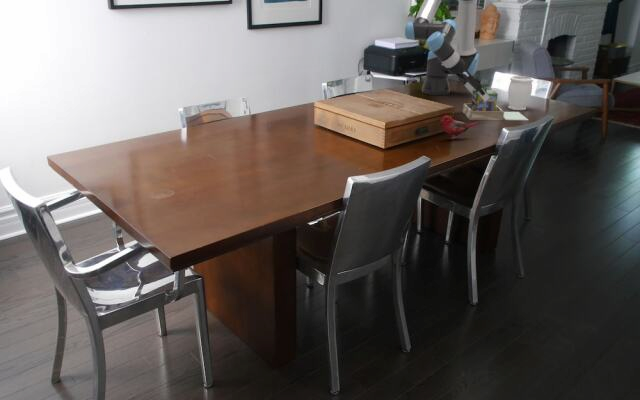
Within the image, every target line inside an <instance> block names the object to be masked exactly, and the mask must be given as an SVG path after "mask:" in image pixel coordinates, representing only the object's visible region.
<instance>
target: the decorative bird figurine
mask: <svg viewBox="0 0 640 400" xmlns="http://www.w3.org/2000/svg"><path fill="white" fill-rule="evenodd" d="M440 122H441V124H442V126H443V129H444V131H445V133H446V134H448V135H450V136H453V137H448V138H447V140H448V139H449V140H454V139H459V138H460V137H459V135H461V134H463V133H465V132H466V131H467V130H469V129H470V128H471V127H473V126H476V125H478V124H480V122H479V121H478V122H472V123H469V124H468V123H466V122H462V121H459V120H455V119H453V118H452V117H451V116H449V115H444V116H443V117H442V119H441V120H440Z"/></svg>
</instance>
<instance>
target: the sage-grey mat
mask: <svg viewBox="0 0 640 400" xmlns="http://www.w3.org/2000/svg"><path fill="white" fill-rule="evenodd" d="M503 120H505V121H520V122H521V121H522V122H523V121H526V122H528V121H529V119H528V118H527V117H526V116H524V115H523V114H522V113H521V112H520V111H504V116H503Z"/></svg>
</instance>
